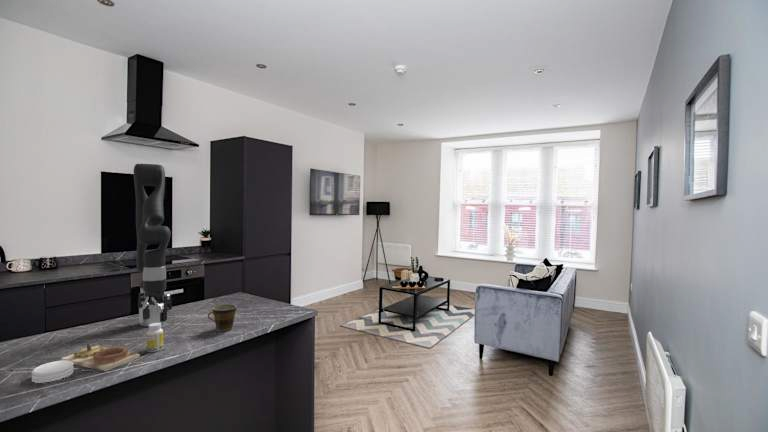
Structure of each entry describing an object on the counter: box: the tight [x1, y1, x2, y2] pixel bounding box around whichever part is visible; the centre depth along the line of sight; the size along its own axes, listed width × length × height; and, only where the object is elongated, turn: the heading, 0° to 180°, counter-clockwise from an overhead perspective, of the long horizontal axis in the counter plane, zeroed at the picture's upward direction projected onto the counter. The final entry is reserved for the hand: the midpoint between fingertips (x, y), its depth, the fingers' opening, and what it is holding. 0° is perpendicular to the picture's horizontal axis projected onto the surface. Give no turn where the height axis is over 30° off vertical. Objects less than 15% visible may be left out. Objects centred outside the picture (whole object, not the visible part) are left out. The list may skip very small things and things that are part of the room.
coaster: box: [31, 360, 74, 384], centre depth 117 cm, size 10×10×4 cm
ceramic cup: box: [207, 303, 238, 333], centre depth 161 cm, size 13×10×10 cm
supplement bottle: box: [146, 323, 164, 353], centre depth 139 cm, size 5×5×10 cm
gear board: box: [60, 342, 141, 372], centre depth 130 cm, size 22×12×5 cm, turn 72°
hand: (154, 320), depth 139 cm, fingers open, 8 cm apart
